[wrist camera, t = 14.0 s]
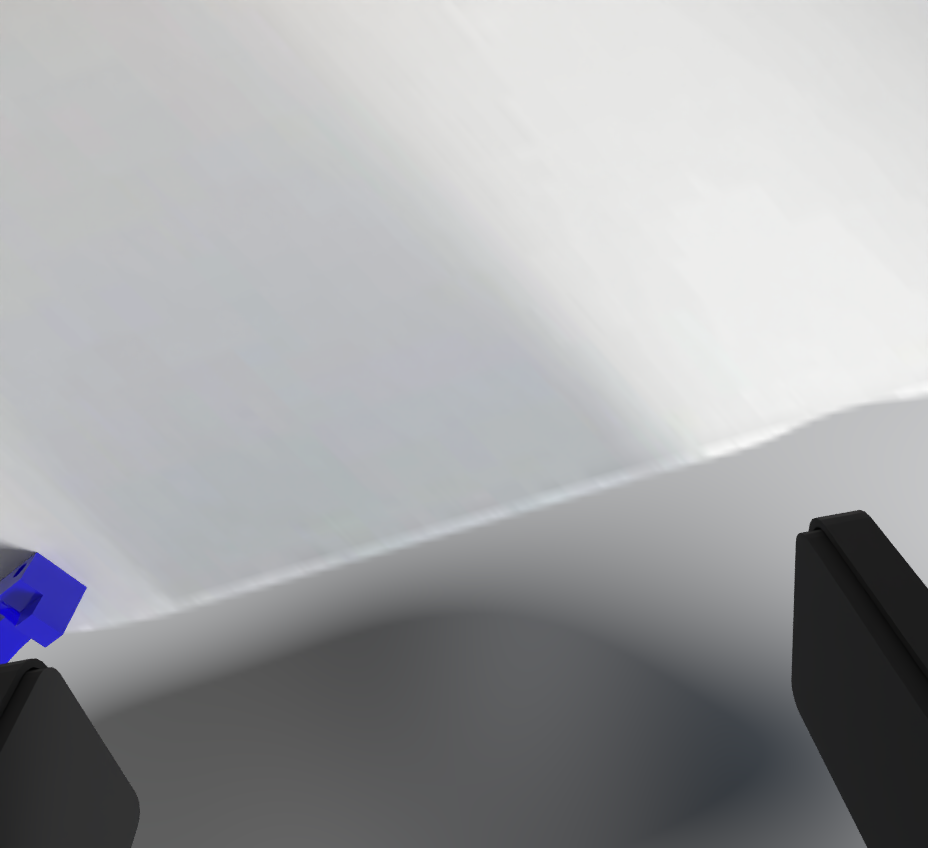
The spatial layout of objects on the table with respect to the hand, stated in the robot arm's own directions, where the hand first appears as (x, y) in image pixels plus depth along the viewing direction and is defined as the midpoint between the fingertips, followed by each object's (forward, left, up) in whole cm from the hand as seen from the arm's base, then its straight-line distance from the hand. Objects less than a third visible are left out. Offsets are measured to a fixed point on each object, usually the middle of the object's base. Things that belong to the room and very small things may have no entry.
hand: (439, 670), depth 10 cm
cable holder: (+29, +21, -31) cm, 47 cm away
